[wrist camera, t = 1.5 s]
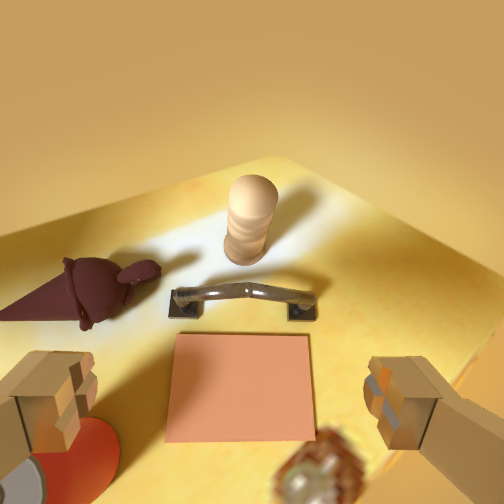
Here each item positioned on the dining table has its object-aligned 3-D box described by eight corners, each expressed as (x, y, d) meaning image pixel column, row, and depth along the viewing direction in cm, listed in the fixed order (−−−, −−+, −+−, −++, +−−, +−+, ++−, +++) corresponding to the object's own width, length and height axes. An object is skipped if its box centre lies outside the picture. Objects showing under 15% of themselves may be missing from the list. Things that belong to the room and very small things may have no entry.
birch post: (222, 264, 35) (224, 216, 25) (224, 228, 37) (227, 170, 27) (264, 266, 35) (282, 219, 25) (263, 230, 37) (280, 174, 27)
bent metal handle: (169, 318, 32) (156, 301, 25) (172, 291, 33) (161, 268, 26) (313, 321, 33) (336, 306, 27) (311, 296, 34) (333, 275, 28)
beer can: (91, 399, 28) (10, 408, 17) (138, 453, 26) (81, 501, 16) (26, 464, 25) (-119, 522, 14) (73, 527, 24) (-48, 643, 13)
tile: (165, 441, 27) (164, 442, 26) (177, 334, 31) (176, 333, 30) (313, 439, 28) (315, 440, 28) (306, 337, 32) (307, 336, 32)
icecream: (-22, 364, 23) (172, 301, 27) (-42, 273, 23) (149, 228, 28) (20, 354, 29) (171, 304, 34) (4, 283, 30) (153, 244, 35)
